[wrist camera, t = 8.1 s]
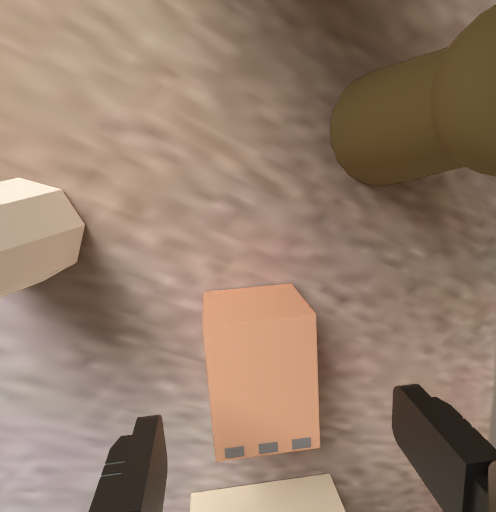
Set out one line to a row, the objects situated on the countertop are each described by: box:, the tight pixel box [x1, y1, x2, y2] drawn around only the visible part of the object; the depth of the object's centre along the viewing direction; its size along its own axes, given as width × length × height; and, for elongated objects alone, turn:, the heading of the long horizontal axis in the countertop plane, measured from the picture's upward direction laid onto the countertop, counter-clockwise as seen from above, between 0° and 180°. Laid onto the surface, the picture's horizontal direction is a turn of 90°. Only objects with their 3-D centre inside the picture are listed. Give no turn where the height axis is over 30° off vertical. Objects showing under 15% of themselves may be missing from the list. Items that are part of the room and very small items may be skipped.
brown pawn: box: [330, 5, 496, 186], centre depth 15 cm, size 6×6×11 cm
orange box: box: [203, 283, 320, 462], centre depth 19 cm, size 7×5×5 cm
